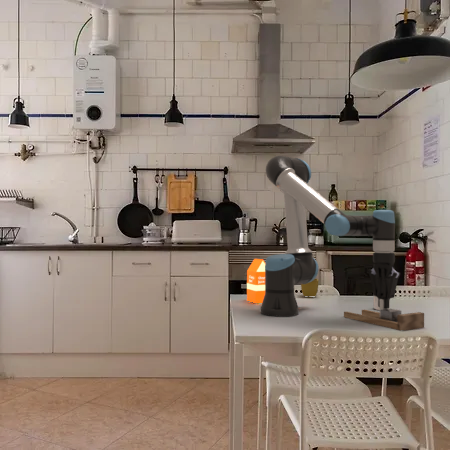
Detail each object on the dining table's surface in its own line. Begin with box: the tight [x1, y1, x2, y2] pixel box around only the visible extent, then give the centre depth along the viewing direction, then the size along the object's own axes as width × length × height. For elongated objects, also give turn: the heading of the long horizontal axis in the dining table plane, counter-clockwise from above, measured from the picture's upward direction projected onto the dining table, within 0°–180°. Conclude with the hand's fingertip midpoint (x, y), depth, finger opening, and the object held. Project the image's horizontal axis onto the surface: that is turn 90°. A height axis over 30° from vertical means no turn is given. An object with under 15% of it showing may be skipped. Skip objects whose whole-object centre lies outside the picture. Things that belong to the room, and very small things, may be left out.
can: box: [373, 295, 391, 312], centre depth 191 cm, size 6×6×12 cm
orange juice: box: [246, 258, 266, 304], centre depth 208 cm, size 8×9×20 cm
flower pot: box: [300, 278, 320, 297], centre depth 226 cm, size 9×9×9 cm
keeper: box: [379, 308, 402, 322], centre depth 161 cm, size 5×5×5 cm
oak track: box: [343, 309, 425, 331], centre depth 165 cm, size 11×27×5 cm, turn 30°
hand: (383, 316), depth 164 cm, fingers closed
